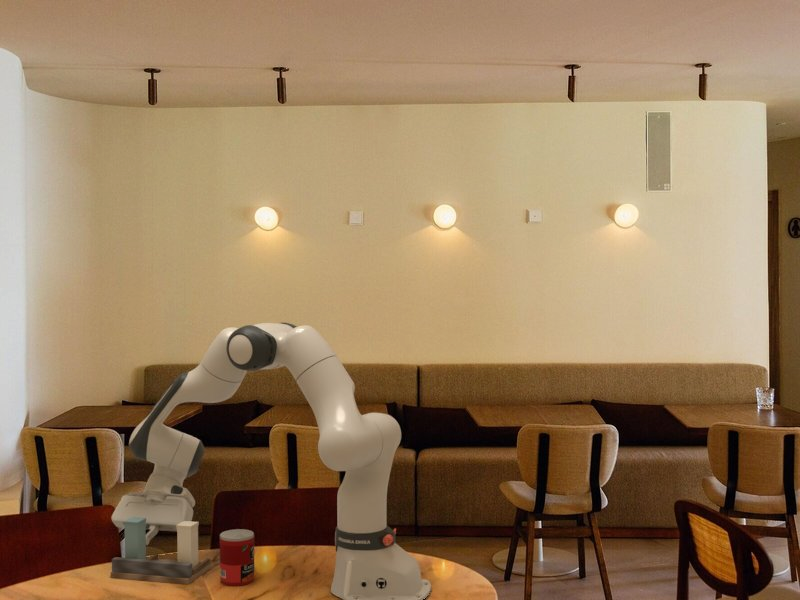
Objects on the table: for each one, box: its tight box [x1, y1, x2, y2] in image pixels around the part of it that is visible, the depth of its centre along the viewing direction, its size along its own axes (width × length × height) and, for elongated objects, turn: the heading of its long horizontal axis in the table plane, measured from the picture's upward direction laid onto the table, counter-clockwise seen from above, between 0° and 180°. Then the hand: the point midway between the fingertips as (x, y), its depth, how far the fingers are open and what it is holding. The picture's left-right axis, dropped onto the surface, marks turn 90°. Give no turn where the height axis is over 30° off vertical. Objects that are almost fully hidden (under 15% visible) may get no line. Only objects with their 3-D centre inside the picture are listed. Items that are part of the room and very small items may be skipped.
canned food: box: [219, 528, 255, 587], centre depth 197 cm, size 8×8×11 cm
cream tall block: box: [176, 520, 200, 568], centre depth 201 cm, size 4×4×11 cm
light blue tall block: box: [124, 517, 147, 560], centre depth 205 cm, size 4×4×11 cm
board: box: [110, 553, 213, 585], centre depth 203 cm, size 20×12×4 cm, turn 76°
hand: (141, 543), depth 207 cm, fingers closed, pressing on light blue tall block
